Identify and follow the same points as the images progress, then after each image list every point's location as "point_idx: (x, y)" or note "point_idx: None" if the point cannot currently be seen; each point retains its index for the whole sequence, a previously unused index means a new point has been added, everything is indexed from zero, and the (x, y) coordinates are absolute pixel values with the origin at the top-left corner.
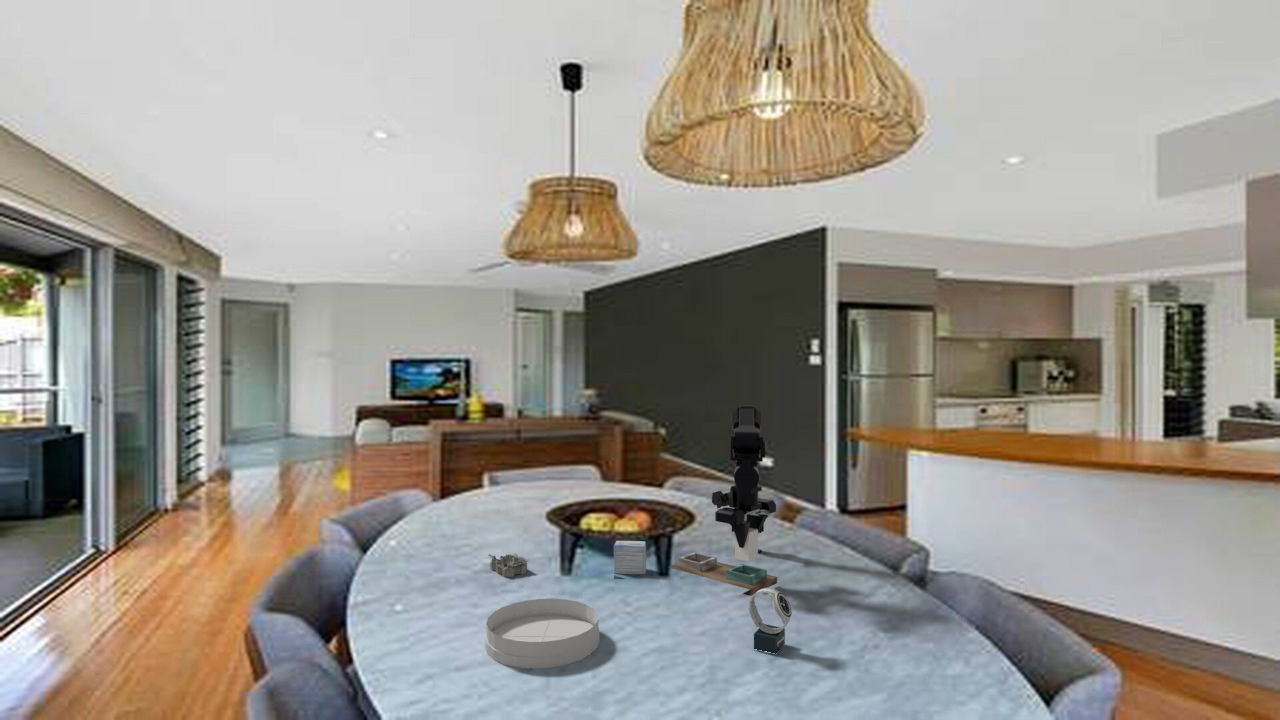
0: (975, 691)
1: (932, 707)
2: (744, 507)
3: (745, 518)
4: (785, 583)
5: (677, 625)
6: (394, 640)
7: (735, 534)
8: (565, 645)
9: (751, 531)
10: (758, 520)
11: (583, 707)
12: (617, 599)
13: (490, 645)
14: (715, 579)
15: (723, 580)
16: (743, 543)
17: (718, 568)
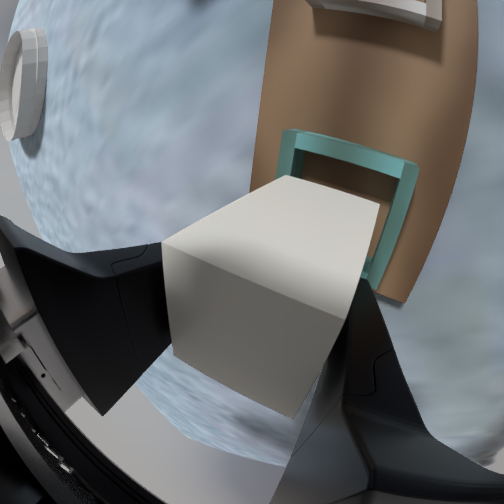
0: (178, 421)
1: (142, 391)
2: (10, 454)
3: (58, 399)
4: (410, 313)
5: (82, 163)
6: (19, 13)
7: (149, 247)
8: (10, 136)
9: (207, 374)
10: (283, 487)
11: (22, 187)
12: (99, 11)
13: (9, 79)
14: (263, 97)
15: (271, 128)
16: None
17: (401, 51)
